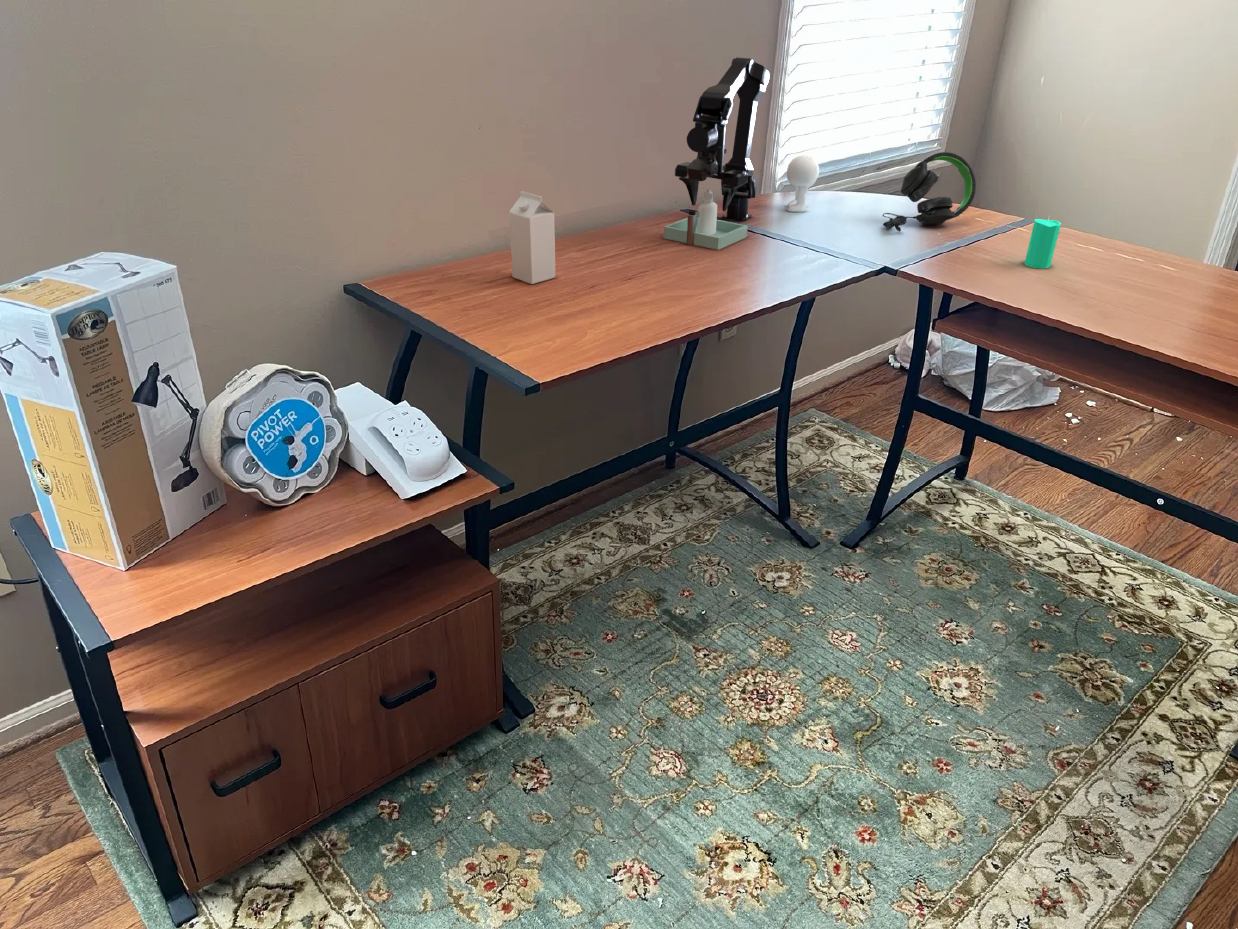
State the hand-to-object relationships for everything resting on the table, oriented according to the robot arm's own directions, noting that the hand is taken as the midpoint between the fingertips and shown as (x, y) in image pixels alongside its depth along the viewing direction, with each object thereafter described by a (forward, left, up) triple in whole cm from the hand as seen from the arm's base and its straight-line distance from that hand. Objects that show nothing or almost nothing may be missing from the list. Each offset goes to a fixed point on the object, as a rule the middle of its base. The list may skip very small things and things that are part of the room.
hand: (708, 208), depth 235 cm
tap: (+8, 0, -8) cm, 11 cm away
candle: (-31, +76, -8) cm, 82 cm away
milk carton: (+53, -13, -8) cm, 56 cm away
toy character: (-42, +6, -8) cm, 43 cm away
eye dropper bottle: (0, 0, -7) cm, 7 cm away
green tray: (+1, 0, -8) cm, 8 cm away
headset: (-48, +42, -8) cm, 64 cm away
